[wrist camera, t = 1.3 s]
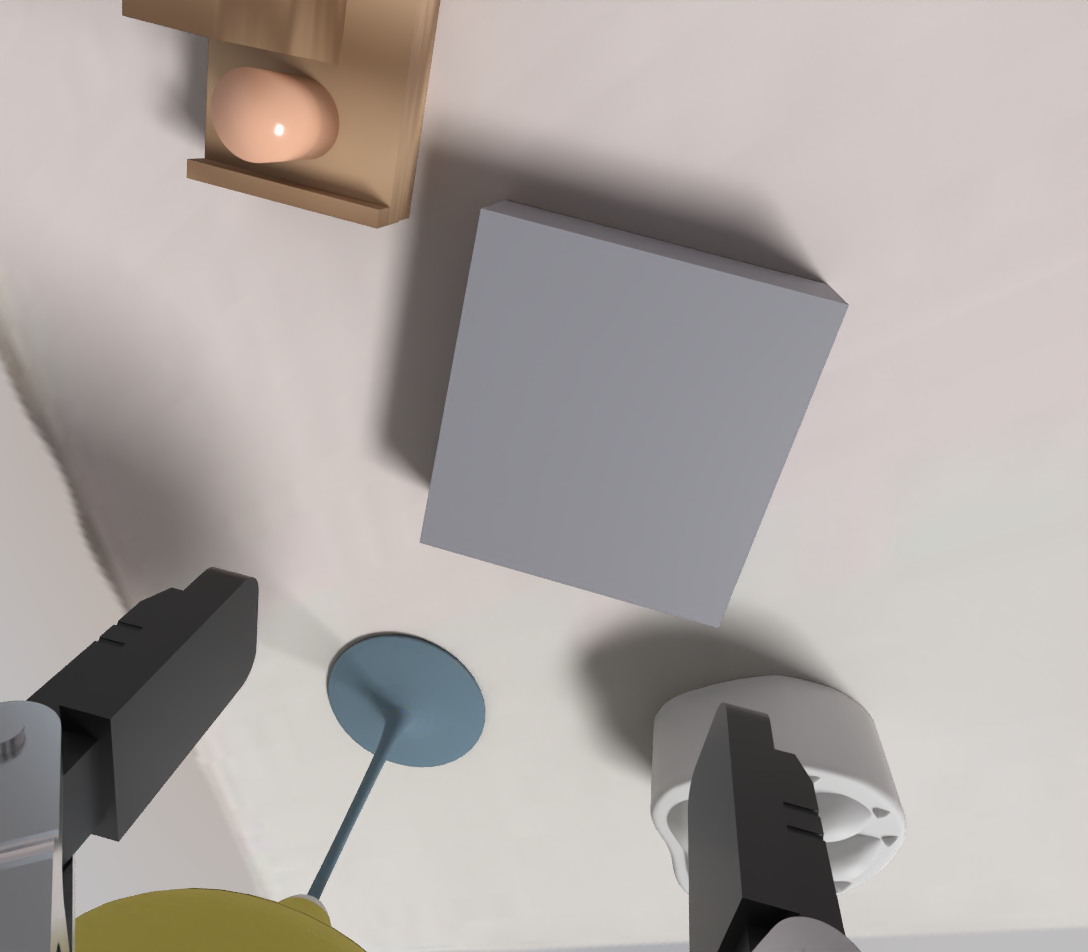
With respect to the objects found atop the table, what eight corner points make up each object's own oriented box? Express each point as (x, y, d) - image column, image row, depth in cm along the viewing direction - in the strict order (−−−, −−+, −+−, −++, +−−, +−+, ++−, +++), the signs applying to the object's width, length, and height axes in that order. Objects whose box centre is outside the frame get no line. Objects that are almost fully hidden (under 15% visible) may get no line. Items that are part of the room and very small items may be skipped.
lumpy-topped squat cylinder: (641, 697, 48) (634, 806, 40) (856, 656, 44) (894, 767, 37) (688, 818, 51) (690, 941, 44) (892, 789, 48) (934, 917, 40)
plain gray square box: (504, 199, 37) (480, 208, 33) (827, 284, 36) (848, 305, 32) (445, 501, 44) (419, 542, 40) (714, 577, 44) (718, 628, 39)
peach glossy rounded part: (269, 66, 33) (213, 56, 29) (343, 86, 33) (296, 79, 29) (263, 148, 35) (208, 150, 31) (334, 168, 35) (288, 172, 31)
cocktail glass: (374, 829, 57) (172, 1288, 34) (226, 641, 52) (-125, 1035, 29) (589, 762, 51) (518, 1264, 28) (447, 543, 46) (220, 941, 23)
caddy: (262, -197, 33) (12, -396, 20) (465, -148, 32) (334, -323, 20) (242, 173, 39) (44, 189, 27) (411, 217, 38) (288, 255, 26)
